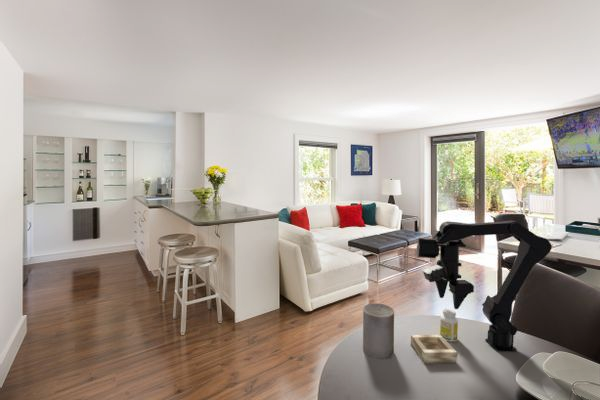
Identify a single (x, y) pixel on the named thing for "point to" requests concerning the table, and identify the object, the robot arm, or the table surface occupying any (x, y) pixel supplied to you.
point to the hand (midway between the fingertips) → (448, 303)
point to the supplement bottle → (449, 325)
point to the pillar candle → (378, 330)
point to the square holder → (433, 349)
